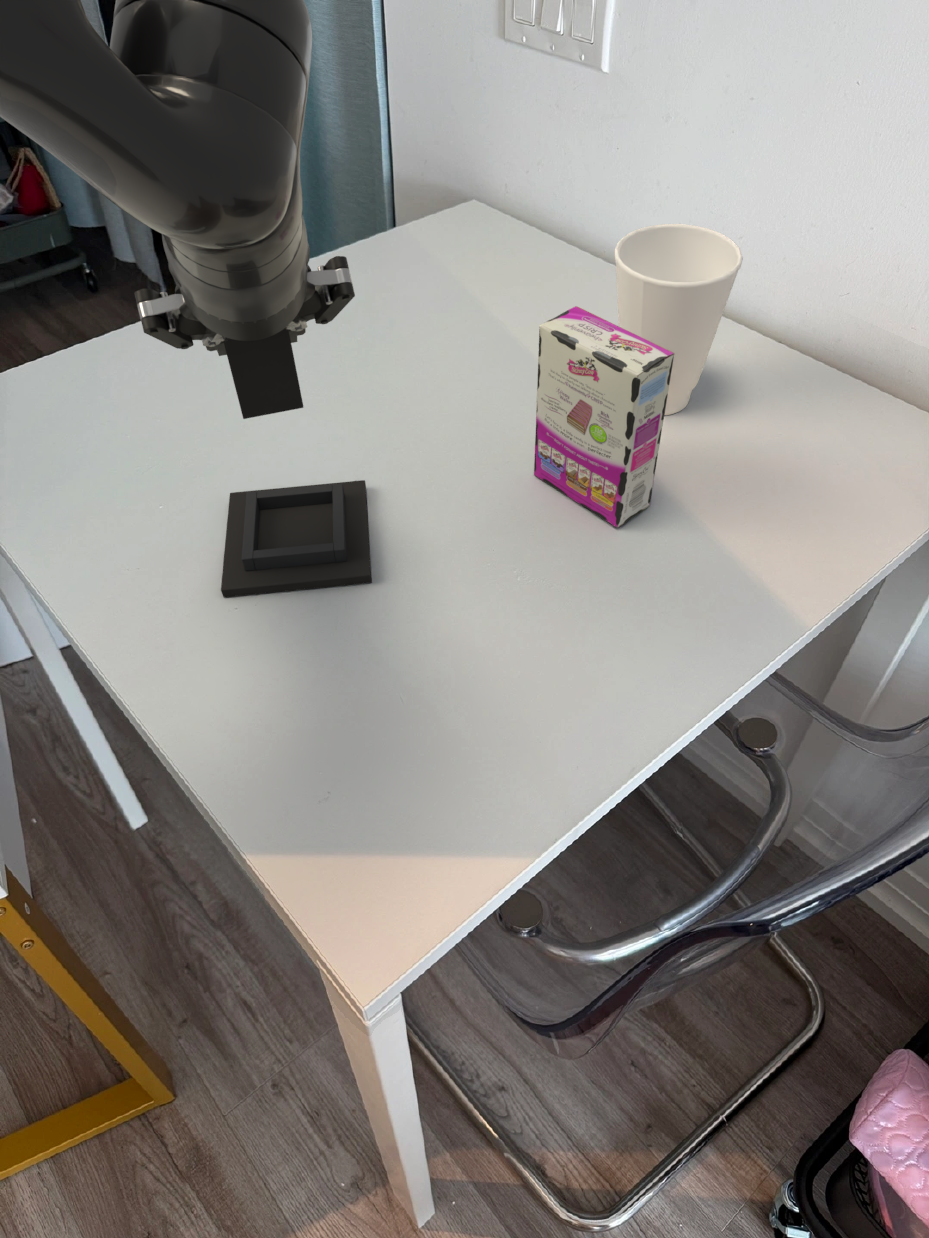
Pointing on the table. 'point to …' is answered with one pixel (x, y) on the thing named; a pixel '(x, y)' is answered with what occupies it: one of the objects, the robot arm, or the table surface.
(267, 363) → the black block
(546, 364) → the candy bar box
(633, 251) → the cup
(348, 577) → the base pad
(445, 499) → the table surface
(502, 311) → the table surface
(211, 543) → the table surface
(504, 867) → the table surface
